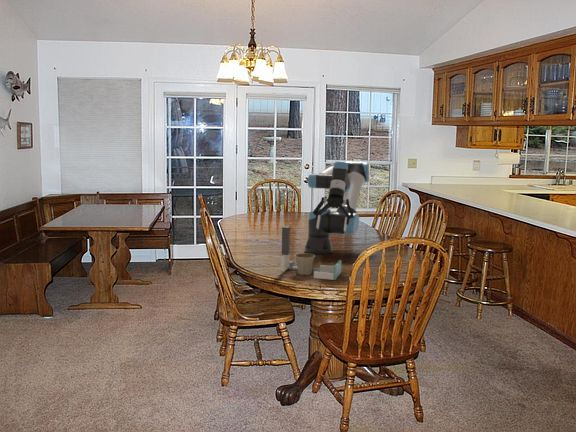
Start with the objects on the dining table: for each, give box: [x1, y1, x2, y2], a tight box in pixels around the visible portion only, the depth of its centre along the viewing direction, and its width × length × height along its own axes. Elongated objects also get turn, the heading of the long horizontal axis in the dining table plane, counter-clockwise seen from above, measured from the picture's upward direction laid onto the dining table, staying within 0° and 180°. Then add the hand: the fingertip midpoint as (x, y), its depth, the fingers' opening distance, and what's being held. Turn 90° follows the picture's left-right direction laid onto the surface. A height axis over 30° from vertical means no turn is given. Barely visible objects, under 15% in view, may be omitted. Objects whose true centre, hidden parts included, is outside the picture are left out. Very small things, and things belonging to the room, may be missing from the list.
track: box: [286, 265, 320, 272], centre depth 293 cm, size 2×17×1 cm, turn 75°
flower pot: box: [294, 252, 316, 276], centre depth 285 cm, size 9×9×9 cm
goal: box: [313, 259, 342, 281], centre depth 282 cm, size 14×10×6 cm
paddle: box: [280, 225, 295, 272], centre depth 288 cm, size 13×4×20 cm, turn 165°
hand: (330, 229), depth 299 cm, fingers open, 13 cm apart
